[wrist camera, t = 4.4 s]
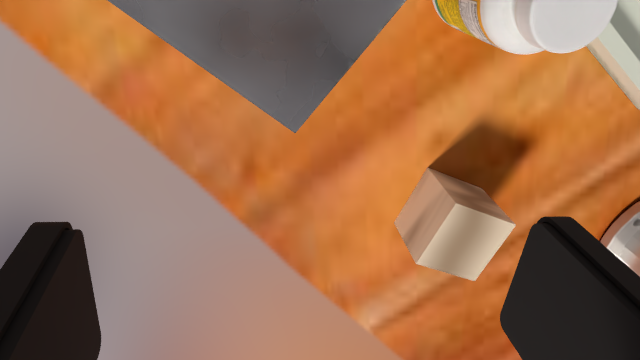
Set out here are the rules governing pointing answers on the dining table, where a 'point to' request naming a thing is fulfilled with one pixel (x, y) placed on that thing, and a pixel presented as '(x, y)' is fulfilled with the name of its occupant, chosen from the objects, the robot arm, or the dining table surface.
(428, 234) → the beech block
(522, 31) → the supplement bottle
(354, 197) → the dining table surface
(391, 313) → the dining table surface
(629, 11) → the tray
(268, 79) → the tabletop unit
